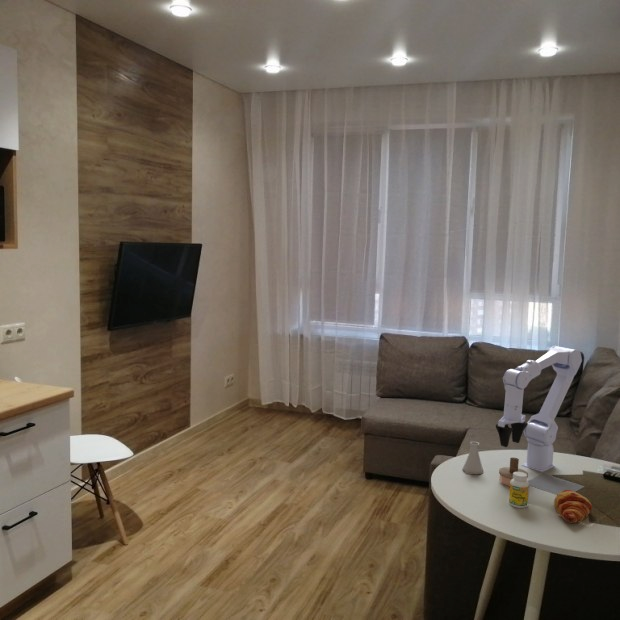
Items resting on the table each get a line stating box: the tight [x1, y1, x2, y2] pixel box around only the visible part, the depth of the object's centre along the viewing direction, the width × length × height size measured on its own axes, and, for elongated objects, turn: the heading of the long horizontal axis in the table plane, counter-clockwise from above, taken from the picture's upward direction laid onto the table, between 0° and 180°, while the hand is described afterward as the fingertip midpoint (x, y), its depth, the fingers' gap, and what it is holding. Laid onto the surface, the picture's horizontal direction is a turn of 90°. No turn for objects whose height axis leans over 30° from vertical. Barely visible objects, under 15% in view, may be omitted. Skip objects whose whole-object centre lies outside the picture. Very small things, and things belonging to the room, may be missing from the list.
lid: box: [498, 457, 529, 479], centre depth 199 cm, size 9×9×5 cm
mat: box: [527, 473, 585, 496], centre depth 199 cm, size 14×14×1 cm
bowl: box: [499, 474, 512, 487], centre depth 200 cm, size 7×7×3 cm
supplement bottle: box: [508, 472, 530, 509], centre depth 183 cm, size 5×5×10 cm
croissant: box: [553, 490, 593, 523], centre depth 179 cm, size 21×10×8 cm, turn 157°
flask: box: [462, 441, 484, 475], centre depth 209 cm, size 7×7×10 cm
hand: (509, 444), depth 207 cm, fingers open, 7 cm apart
